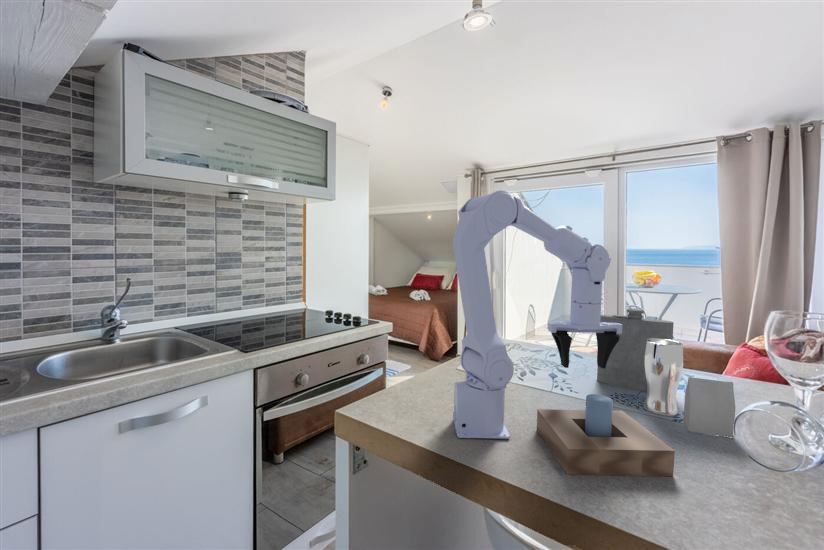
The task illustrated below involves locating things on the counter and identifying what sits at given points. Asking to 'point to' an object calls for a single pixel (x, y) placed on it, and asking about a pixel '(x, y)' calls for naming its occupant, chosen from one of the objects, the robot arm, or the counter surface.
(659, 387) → the silver metal tumbler
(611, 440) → the socket board
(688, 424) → the grey angular block
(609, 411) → the peg
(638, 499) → the counter surface
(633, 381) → the hip flask
